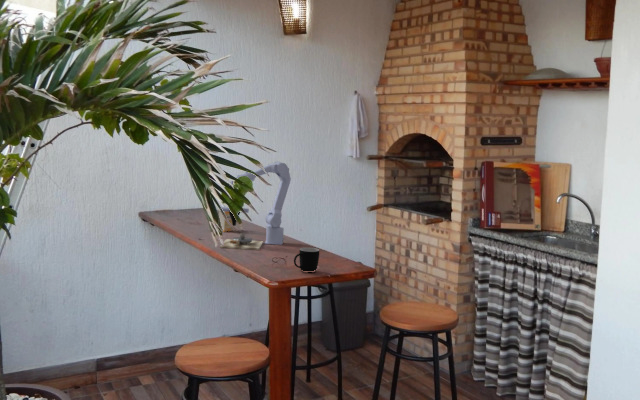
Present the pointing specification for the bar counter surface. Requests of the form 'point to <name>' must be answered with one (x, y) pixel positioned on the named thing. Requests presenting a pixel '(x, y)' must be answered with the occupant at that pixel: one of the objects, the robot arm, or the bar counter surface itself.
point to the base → (242, 244)
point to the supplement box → (224, 224)
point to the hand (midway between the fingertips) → (234, 225)
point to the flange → (241, 240)
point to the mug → (308, 259)
